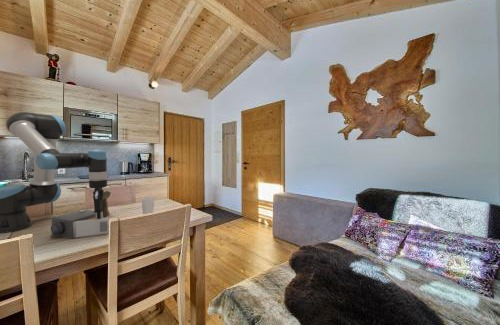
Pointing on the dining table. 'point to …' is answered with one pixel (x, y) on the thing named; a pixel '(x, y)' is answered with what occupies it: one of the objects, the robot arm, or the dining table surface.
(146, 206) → the drinking glass
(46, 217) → the dining table surface
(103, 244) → the dining table surface
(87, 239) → the dining table surface
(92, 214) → the camera housing
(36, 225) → the dining table surface
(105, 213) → the brown irregular piece
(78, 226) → the side door
